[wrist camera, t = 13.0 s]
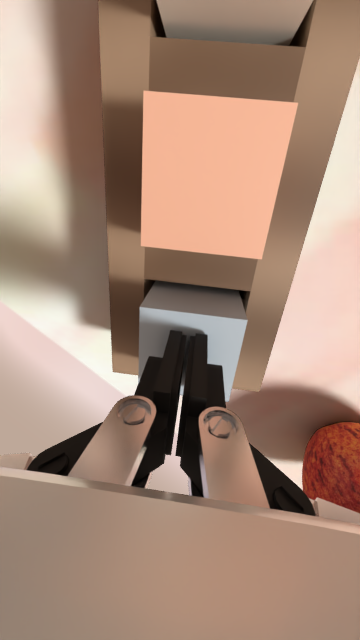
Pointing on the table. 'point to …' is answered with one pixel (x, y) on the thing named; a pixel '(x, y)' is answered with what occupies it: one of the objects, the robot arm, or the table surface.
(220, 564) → the robot arm
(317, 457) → the apple
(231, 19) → the key cream
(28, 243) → the table surface
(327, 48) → the frame block
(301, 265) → the table surface
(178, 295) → the grey block
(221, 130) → the key terracotta
